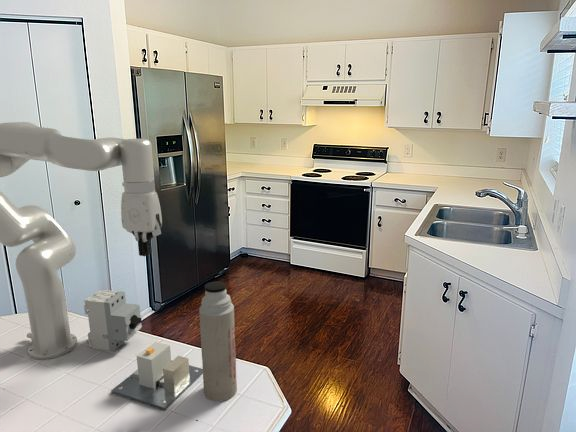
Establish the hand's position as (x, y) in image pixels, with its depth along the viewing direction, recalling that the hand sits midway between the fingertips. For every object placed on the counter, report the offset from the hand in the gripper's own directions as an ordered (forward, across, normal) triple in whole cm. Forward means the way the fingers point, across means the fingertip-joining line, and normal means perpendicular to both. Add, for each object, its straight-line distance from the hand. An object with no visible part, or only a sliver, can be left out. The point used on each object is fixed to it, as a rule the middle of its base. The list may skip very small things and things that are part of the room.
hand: (145, 254), depth 113 cm
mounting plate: (+29, +11, -11) cm, 33 cm away
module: (+28, +10, -11) cm, 32 cm away
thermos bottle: (+29, +27, -8) cm, 41 cm away
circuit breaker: (+29, -12, -1) cm, 32 cm away
